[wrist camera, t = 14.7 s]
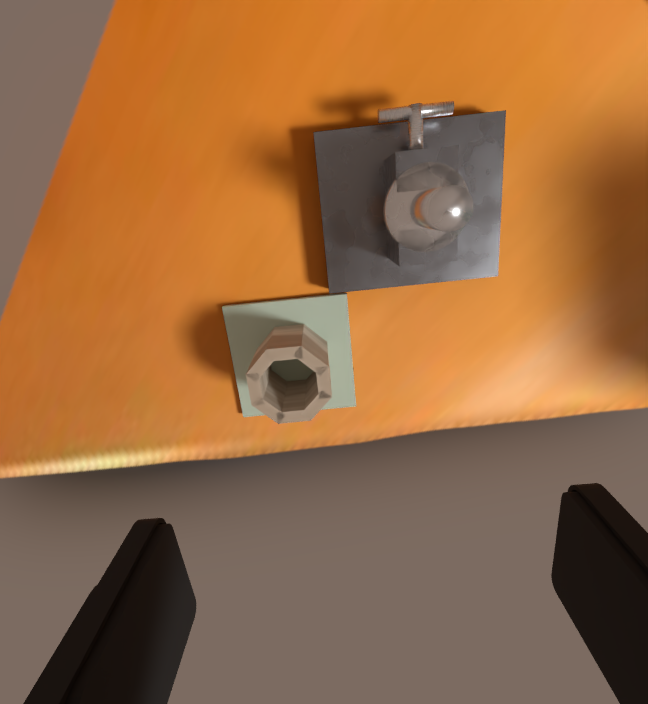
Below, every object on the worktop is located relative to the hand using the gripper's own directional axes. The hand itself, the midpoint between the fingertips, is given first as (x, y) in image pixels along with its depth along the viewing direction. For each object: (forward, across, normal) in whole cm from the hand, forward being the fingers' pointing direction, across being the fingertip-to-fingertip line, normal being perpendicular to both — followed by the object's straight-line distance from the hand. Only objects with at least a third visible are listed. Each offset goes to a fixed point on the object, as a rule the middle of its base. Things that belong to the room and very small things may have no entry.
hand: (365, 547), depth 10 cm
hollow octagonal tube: (+27, +5, +6) cm, 28 cm away
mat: (+27, +5, +6) cm, 28 cm away
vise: (+28, -6, -6) cm, 29 cm away
